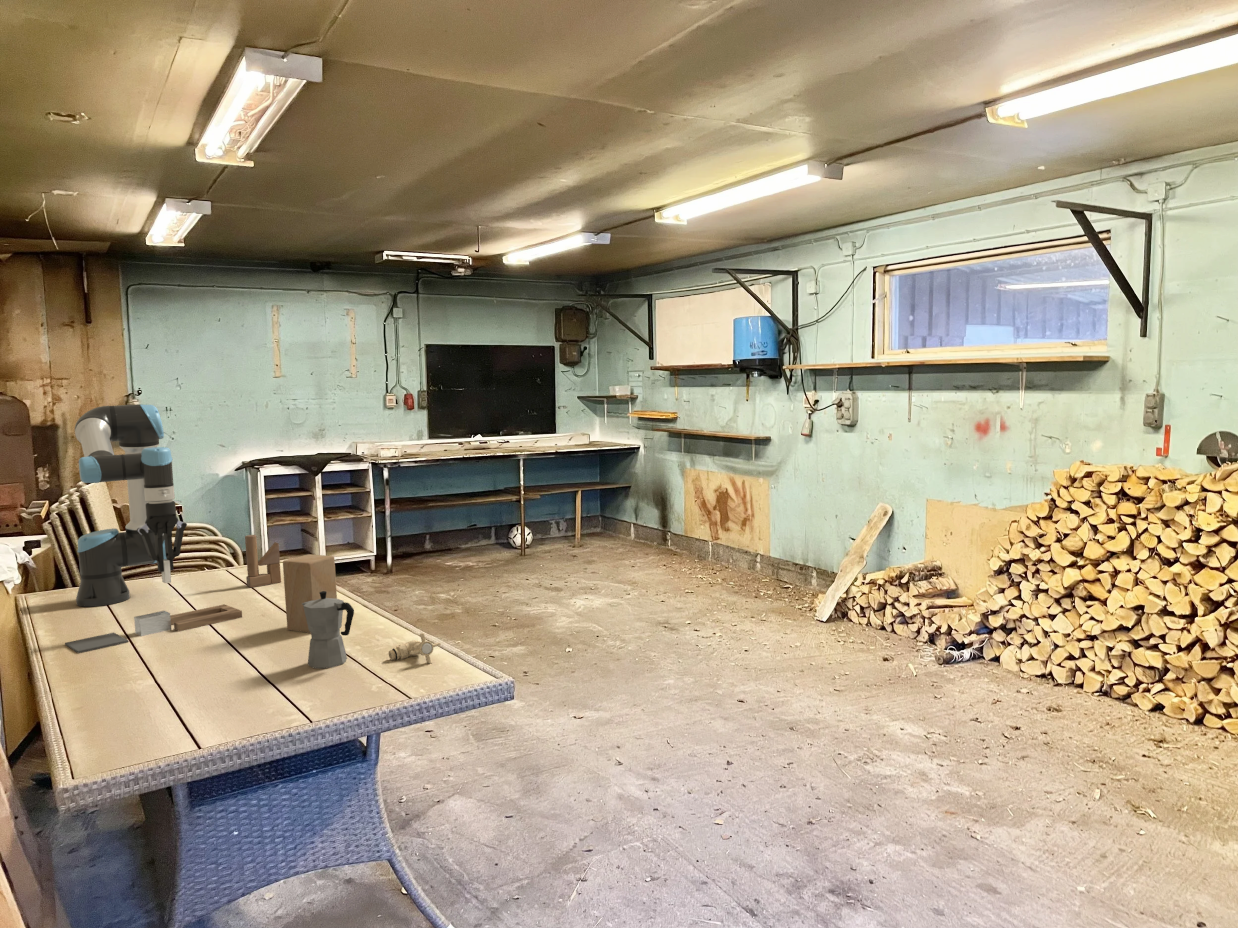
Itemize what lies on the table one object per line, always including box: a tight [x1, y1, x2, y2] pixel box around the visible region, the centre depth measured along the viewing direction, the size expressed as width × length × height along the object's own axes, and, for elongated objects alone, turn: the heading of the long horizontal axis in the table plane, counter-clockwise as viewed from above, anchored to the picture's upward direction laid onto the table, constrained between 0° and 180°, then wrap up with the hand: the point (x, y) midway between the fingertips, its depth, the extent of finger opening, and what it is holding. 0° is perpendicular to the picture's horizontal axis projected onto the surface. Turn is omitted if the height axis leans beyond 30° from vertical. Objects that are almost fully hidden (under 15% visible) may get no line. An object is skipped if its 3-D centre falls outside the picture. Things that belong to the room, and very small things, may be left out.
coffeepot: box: [302, 591, 355, 670], centre depth 207 cm, size 15×9×18 cm, turn 68°
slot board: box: [170, 604, 243, 632], centre depth 251 cm, size 13×18×2 cm
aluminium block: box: [133, 610, 172, 637], centre depth 241 cm, size 4×8×5 cm, turn 138°
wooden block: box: [282, 553, 338, 634], centre depth 239 cm, size 10×10×20 cm
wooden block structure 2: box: [244, 534, 282, 589], centre depth 296 cm, size 4×11×18 cm, turn 132°
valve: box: [388, 632, 442, 665], centre depth 209 cm, size 8×12×10 cm
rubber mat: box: [64, 632, 129, 654], centre depth 230 cm, size 12×12×1 cm
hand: (166, 582), depth 243 cm, fingers closed
